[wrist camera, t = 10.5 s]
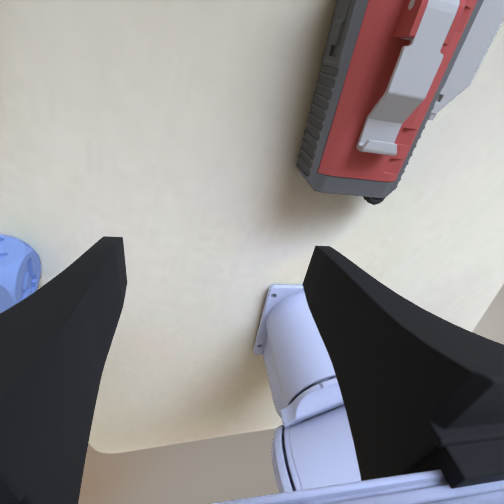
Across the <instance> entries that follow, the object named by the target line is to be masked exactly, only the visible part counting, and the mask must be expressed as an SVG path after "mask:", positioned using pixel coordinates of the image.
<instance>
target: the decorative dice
mask: <svg viewBox="0 0 504 504" xmlns="http://www.w3.org/2000/svg"><path fill="white" fill-rule="evenodd" d="M40 273H41V264H40V258H39V256H38V254H37V253H36V252H35V250H34V249H33V248H31V247H30V246H29V245H28V244H26V243H24V242H23V241H20V240H18V239H16V238H13V237H10V236H5V235H0V313H2V312H4V311H5V310H7V309H9V308H10V307H12V306H14V305H15V304H17V303H18V302H20V301H22V300H23V299H25V298H26V297H28V296H29V295H31V294H33V293H34V292H35V291H37V288H38V284H39V280H40Z"/></svg>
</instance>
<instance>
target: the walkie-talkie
mask: <svg viewBox="0 0 504 504" xmlns="http://www.w3.org/2000/svg"><path fill="white" fill-rule="evenodd" d="M503 20H504V0H337V3H336V7H335V11H334V15H333V19H332V23H331V27H330V31H329V35H328V39H327V43H326V47H325V51H324V55H323V59H322V63H321V64H322V68H321V71H320V72H319V80H318V82H317V83H316V86H317V87H316V91H315V92H314V95H313V96H314V99H313V102H312V103H311V106H312V107H311V111H310V112H309V114H308V115H309V119H308V121H307V122H306V124H307V127H306V130H304V133H305V135H304V138H303V139H302V142H303V143H302V147H300V154H299V155H298V162H297V163H296V166H297V167H298V169H299V171H300V172H301V174H302V175H303V177H304V178H305V179H306V181H307V182H308V183H309V184H310V186H311V187H312V188H313V190H315V191H319V192H324V193H334V194H345V195H355V196H363V197H364V199H365V200H367V202H368V203H371V204H373V205H375V204H379V203H380V202H382V201H383V200H384V199H385V197H386V196H388V195H389V194H390V193H391V192H392V191H393V190H394V189H396V188H397V184H398V182H399V181H400V180H401V176H402V174H403V173H404V169H405V167H406V165H408V161H409V159H410V157H411V156H412V152H413V150H414V148H415V147H416V143H417V141H418V139H420V137H421V136H420V135H421V133H422V130H423V129H424V128H425V124H426V122H427V120H433V119H434V117H435V115H436V114H437V113H438V112H439V111H440V110H441V109H442V108H444V107H445V106H446V105H447V104H448V103H449V102H451V101H452V100H453V99H454V98H455V97H456V96H458V95H459V94H460V93H461V92H462V91H464V90H465V89H466V88H467V87H468V86H469V85H470V84H471V83H472V81H473V79H474V77H475V75H476V73H477V71H478V69H479V67H480V65H481V63H482V61H483V59H484V57H485V55H486V53H487V51H488V49H489V47H490V45H491V43H492V41H493V39H494V37H495V36H496V34H497V32H498V30H499V28H500V26H501V24H502V22H503Z"/></svg>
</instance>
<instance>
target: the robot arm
mask: <svg viewBox="0 0 504 504" xmlns="http://www.w3.org/2000/svg"><path fill="white" fill-rule="evenodd" d="M126 286H127V276H126V266H125V256H124V246H123V237H102V238H101V239H100V240H99V241H98V242H96V243H95V244H94V245H93V246H92V247H91V248H90V249H88V250H87V251H86V252H85V253H84V254H83V255H82V256H80V257H79V258H78V259H77V260H76V261H75V262H73V263H72V264H71V265H70V266H69V267H67V268H66V269H65V270H64V271H63V272H61V273H60V274H59V275H57V276H56V277H55V278H53V279H52V280H51V281H49V282H48V283H47V284H45V285H44V286H43V287H41V288H40V289H38V290H37V291H35V292H34V293H33V294H31V295H29V296H28V297H26V298H25V299H23V300H22V301H20V302H18V303H17V304H15V305H14V306H12V307H10V308H9V309H7V310H5V311H4V312H2V313H0V504H78V499H79V494H80V487H81V481H82V475H83V469H84V464H85V458H86V452H87V447H88V441H89V435H90V430H91V425H92V420H93V415H94V409H95V404H96V399H97V395H98V390H99V385H100V380H101V376H102V372H103V368H104V365H105V361H106V358H107V355H108V352H109V349H110V346H111V343H112V339H113V336H114V333H115V330H116V327H117V324H118V321H119V318H120V314H121V311H122V308H123V303H124V298H125V292H126ZM272 294H274V295H272ZM253 352H254V354H256V355H263V357H264V361H265V366H266V370H267V375H268V379H269V384H270V388H271V393H272V397H273V402H274V405H275V408H276V411H277V413H278V414H279V416H280V417H281V419H282V421H283V425H281V426H278V427H277V428H276V430H275V433H274V438H273V442H272V448H271V449H272V450H271V453H272V463H273V469H274V474H275V479H276V483H277V486H278V489H279V493H278V494H271V495H264V496H258V497H251V498H245V499H238V500H231V501H224V502H217V503H210V504H504V345H503V344H500V343H497V342H494V341H492V340H489V339H487V338H484V337H482V336H480V335H477V334H475V333H472V332H470V331H467V330H465V329H463V328H461V327H459V326H456V325H454V324H452V323H450V322H448V321H446V320H444V319H442V318H440V317H438V316H436V315H434V314H432V313H430V312H428V311H426V310H424V309H422V308H420V307H419V306H417V305H415V304H413V303H412V302H410V301H408V300H407V299H405V298H403V297H402V296H400V295H398V294H397V293H395V292H394V291H392V290H391V289H389V288H388V287H386V286H385V285H383V284H382V283H380V282H379V281H377V280H376V279H374V278H373V277H372V276H370V275H369V274H368V273H366V272H365V271H363V270H362V269H361V268H359V267H358V266H357V265H355V264H354V263H353V262H351V261H350V260H349V259H347V258H346V257H345V256H343V255H342V254H340V253H339V252H338V251H336V250H335V249H333V248H331V247H330V246H315V249H314V252H313V255H312V258H311V261H310V264H309V267H308V270H307V273H306V276H305V279H304V282H303V285H272V286H270V287H269V289H268V293H267V297H266V301H265V304H264V308H263V312H262V316H261V320H260V324H259V328H258V332H257V336H256V340H255V344H254V348H253Z"/></svg>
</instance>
